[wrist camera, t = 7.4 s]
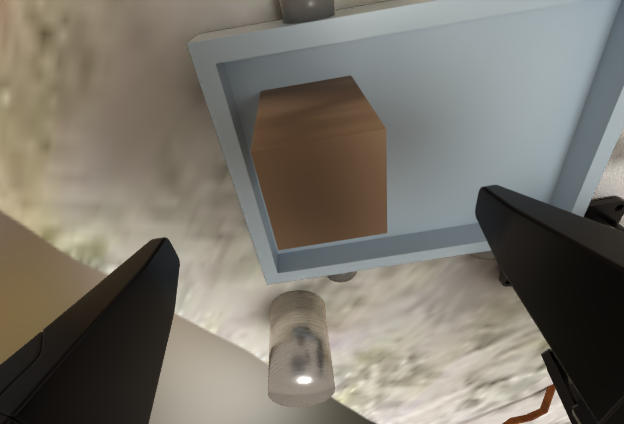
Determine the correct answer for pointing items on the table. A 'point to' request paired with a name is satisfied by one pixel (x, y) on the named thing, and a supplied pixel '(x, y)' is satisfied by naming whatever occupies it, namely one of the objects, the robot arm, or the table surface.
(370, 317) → the table surface
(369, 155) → the walnut block
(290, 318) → the shiny metal cylinder
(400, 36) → the cart
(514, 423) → the glasses
